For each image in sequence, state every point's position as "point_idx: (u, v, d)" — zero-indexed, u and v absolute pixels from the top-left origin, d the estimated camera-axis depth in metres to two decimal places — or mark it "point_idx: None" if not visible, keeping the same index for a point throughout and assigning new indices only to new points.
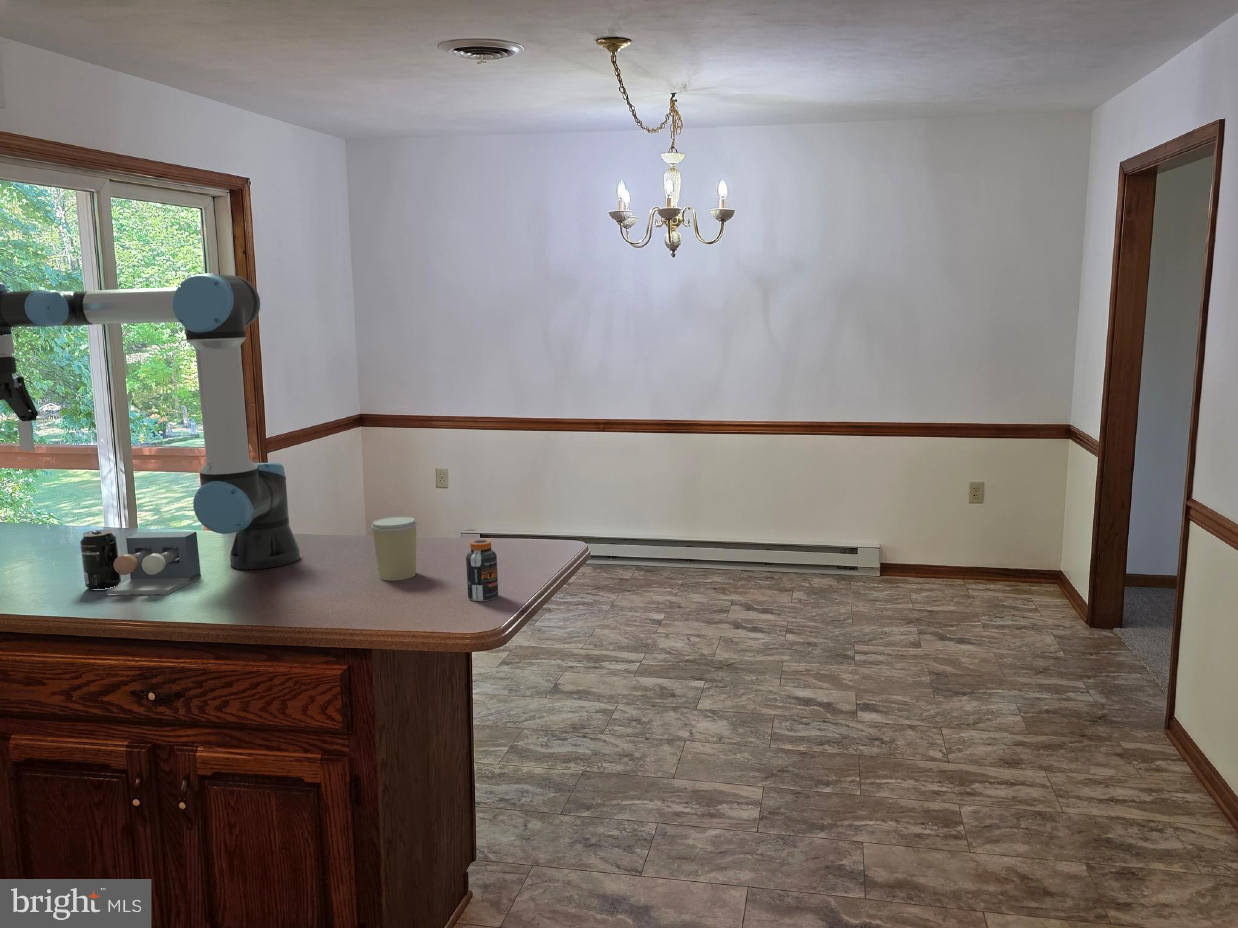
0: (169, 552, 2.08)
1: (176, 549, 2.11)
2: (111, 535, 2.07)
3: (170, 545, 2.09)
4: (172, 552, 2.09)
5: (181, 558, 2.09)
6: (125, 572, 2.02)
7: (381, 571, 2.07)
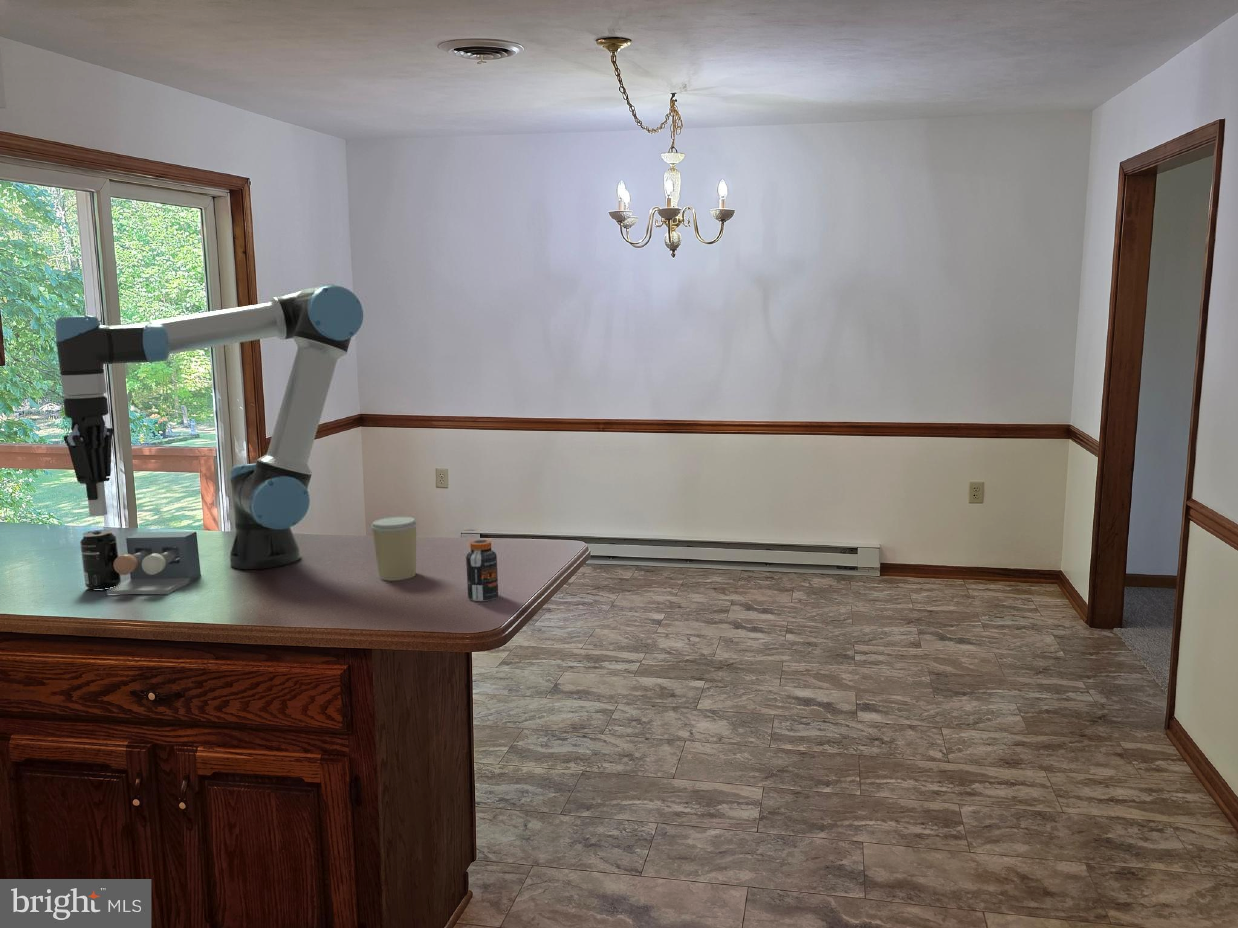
0: (169, 552, 2.08)
1: (176, 549, 2.11)
2: (111, 535, 2.07)
3: (170, 545, 2.09)
4: (172, 552, 2.09)
5: (181, 558, 2.09)
6: (125, 572, 2.02)
7: (381, 571, 2.07)
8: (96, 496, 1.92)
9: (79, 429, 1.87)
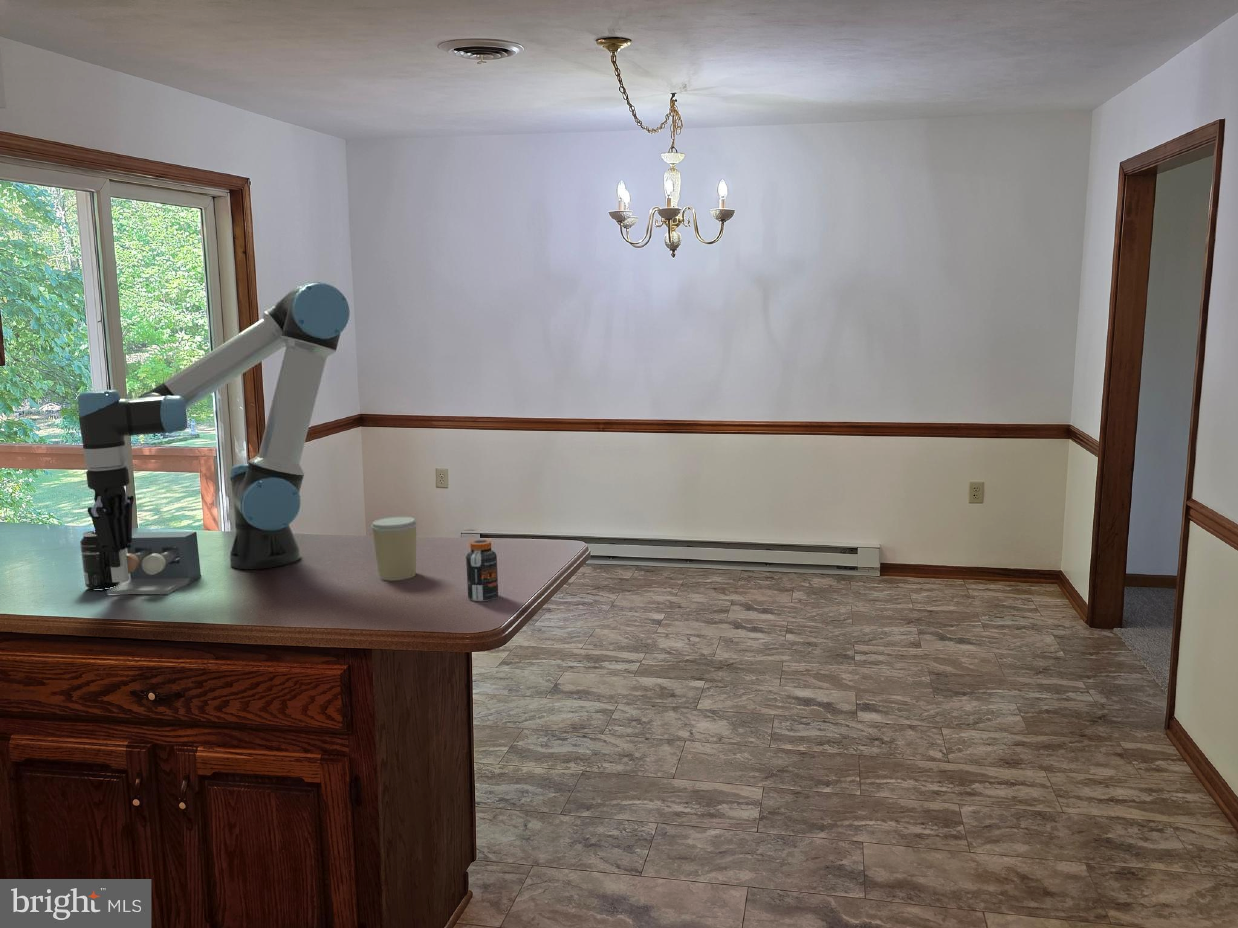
0: (169, 552, 2.08)
1: (176, 549, 2.11)
2: None
3: (170, 545, 2.09)
4: (172, 552, 2.09)
5: (181, 558, 2.09)
6: None
7: (381, 571, 2.07)
8: (119, 563, 1.99)
9: (102, 501, 1.94)
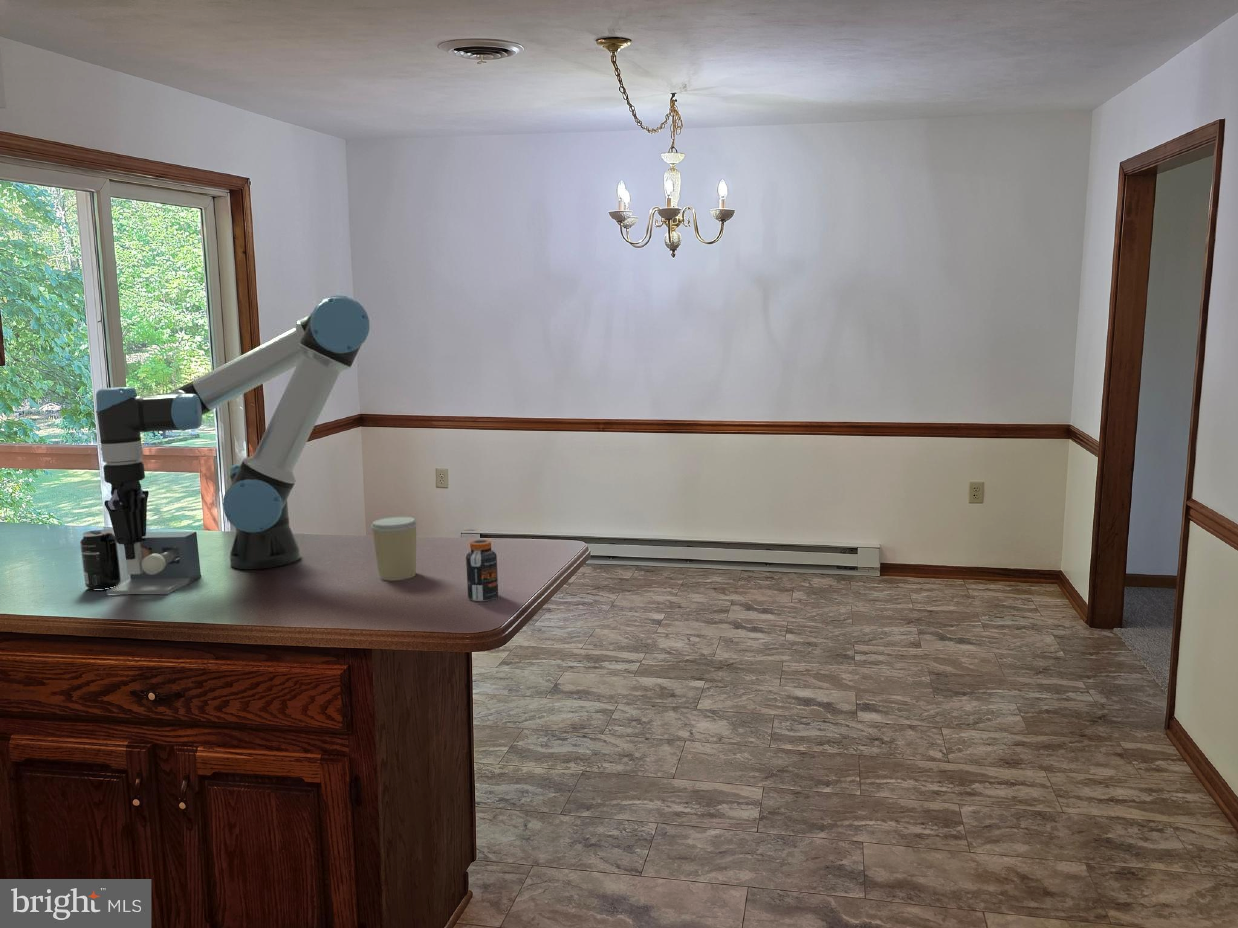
0: (169, 552, 2.08)
1: (176, 549, 2.11)
2: (111, 535, 2.07)
3: (170, 545, 2.09)
4: (172, 552, 2.09)
5: (181, 558, 2.09)
6: None
7: (381, 571, 2.07)
8: (134, 555, 2.05)
9: (118, 494, 1.99)
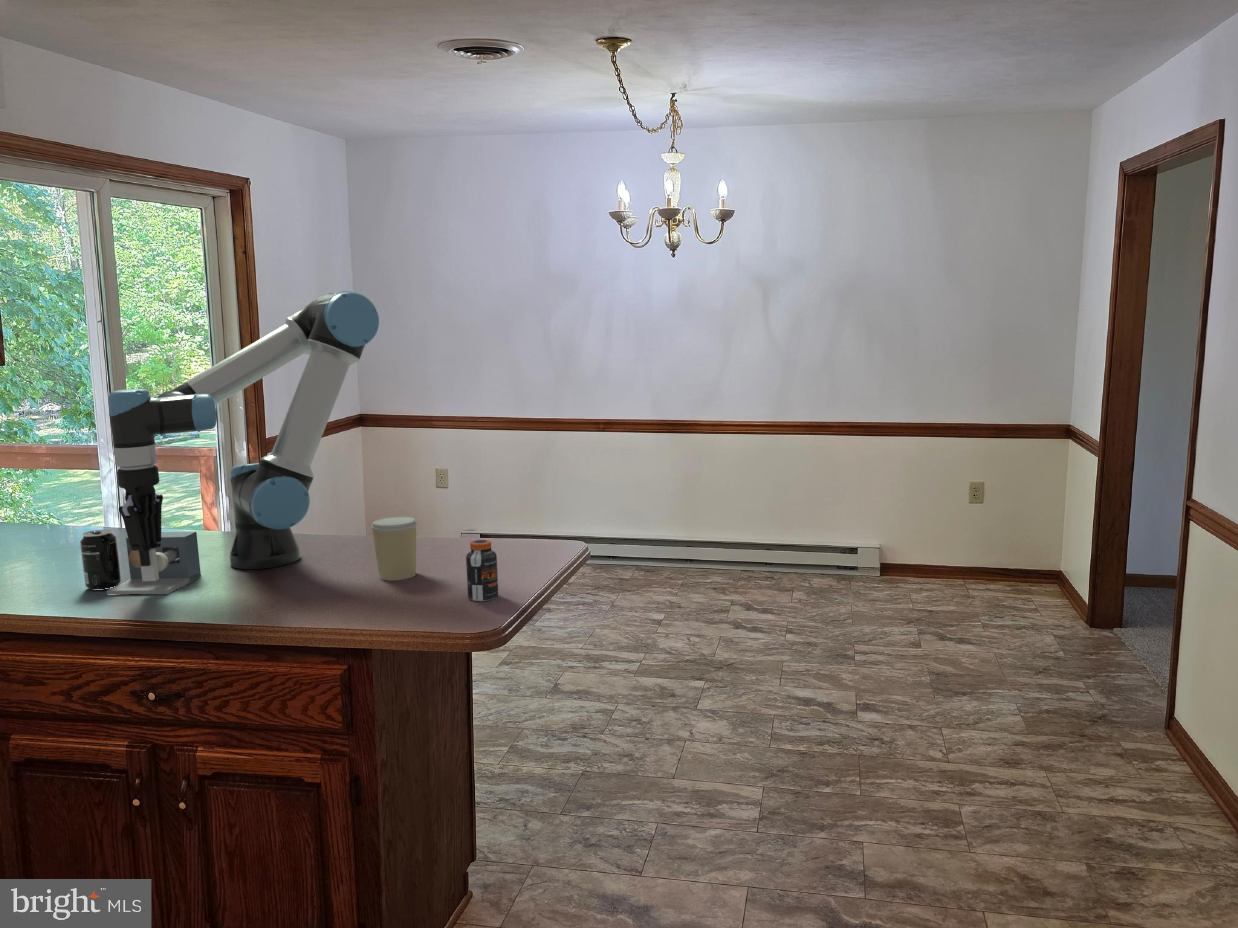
0: (172, 551, 2.09)
1: None
2: (111, 535, 2.07)
3: (170, 545, 2.09)
4: (175, 551, 2.10)
5: (181, 558, 2.09)
6: (140, 565, 2.08)
7: (381, 571, 2.07)
8: (149, 562, 1.99)
9: (133, 500, 1.94)
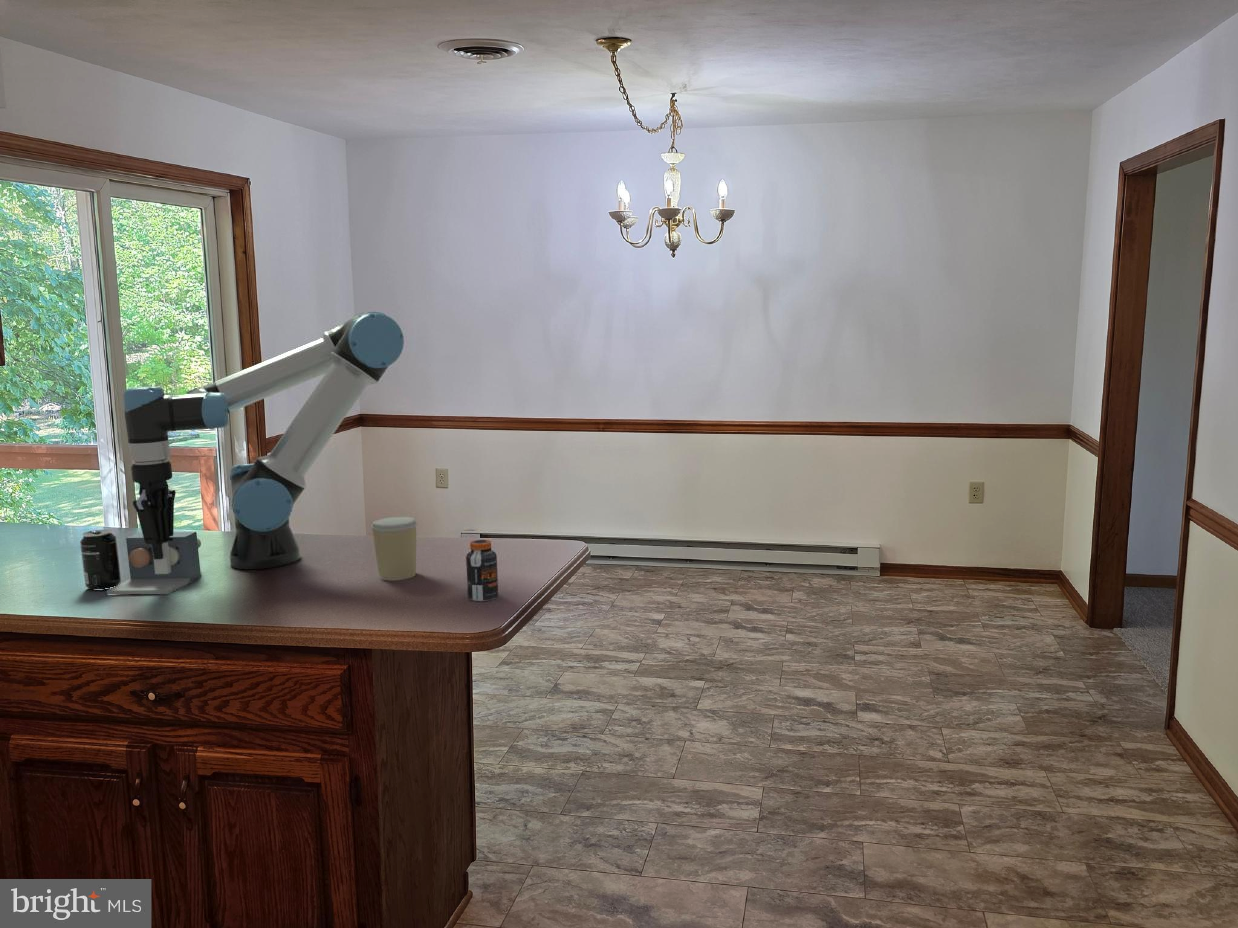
0: None
1: None
2: (111, 535, 2.07)
3: (170, 545, 2.09)
4: None
5: (181, 558, 2.09)
6: (140, 565, 2.08)
7: (381, 571, 2.07)
8: (162, 555, 2.04)
9: (146, 494, 1.99)
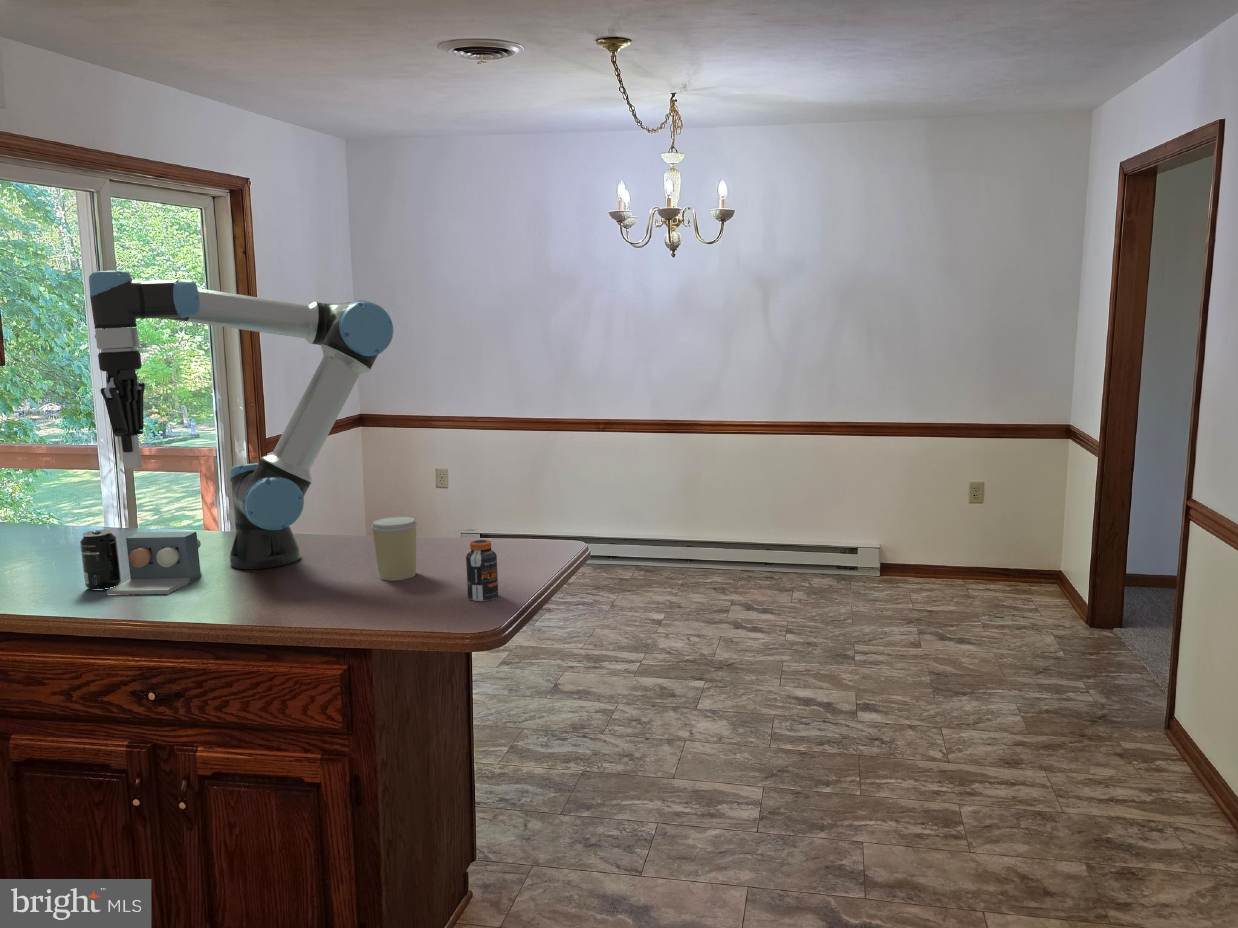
0: None
1: None
2: (111, 535, 2.07)
3: (170, 545, 2.09)
4: None
5: (181, 558, 2.09)
6: (140, 565, 2.08)
7: (381, 571, 2.07)
8: (131, 448, 1.97)
9: (115, 382, 1.91)
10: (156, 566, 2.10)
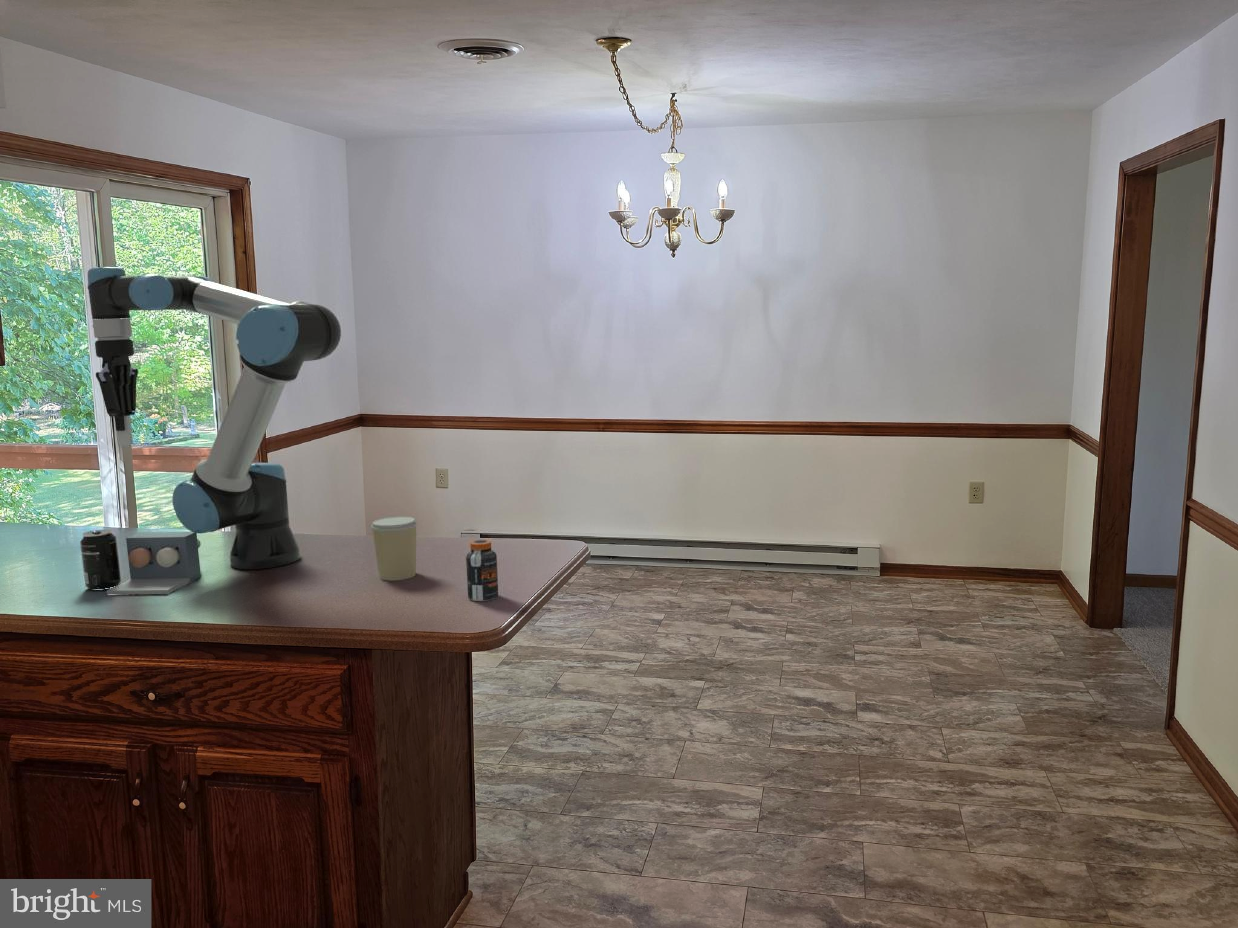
0: None
1: None
2: (111, 535, 2.07)
3: (170, 545, 2.09)
4: None
5: (181, 558, 2.09)
6: (140, 565, 2.08)
7: (381, 571, 2.07)
8: (124, 427, 2.18)
9: (109, 367, 2.13)
10: (156, 566, 2.10)
